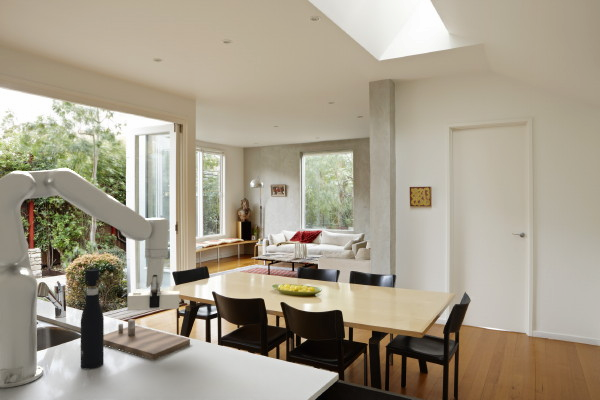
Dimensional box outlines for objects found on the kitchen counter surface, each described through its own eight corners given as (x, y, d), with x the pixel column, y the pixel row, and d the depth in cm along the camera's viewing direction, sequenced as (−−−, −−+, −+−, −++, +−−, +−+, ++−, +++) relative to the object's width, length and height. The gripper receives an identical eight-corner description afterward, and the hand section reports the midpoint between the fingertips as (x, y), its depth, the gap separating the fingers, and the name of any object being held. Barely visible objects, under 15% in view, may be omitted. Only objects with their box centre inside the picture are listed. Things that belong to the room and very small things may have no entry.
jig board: (189, 344, 148) (190, 323, 148) (154, 360, 134) (154, 337, 134) (133, 330, 163) (133, 311, 162) (95, 342, 149) (95, 322, 148)
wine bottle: (107, 361, 133) (107, 268, 132) (95, 369, 126) (96, 271, 126) (88, 360, 133) (88, 267, 133) (76, 368, 127) (76, 271, 126)
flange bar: (178, 304, 149) (179, 291, 149) (178, 308, 144) (179, 294, 144) (129, 306, 144) (129, 292, 144) (127, 310, 139) (127, 295, 139)
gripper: (147, 250, 151) (145, 299, 151) (142, 256, 135) (140, 312, 135) (168, 250, 153) (167, 299, 153) (166, 256, 137) (165, 311, 137)
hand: (154, 304), depth 144 cm, fingers closed on flange bar, 5 cm apart
